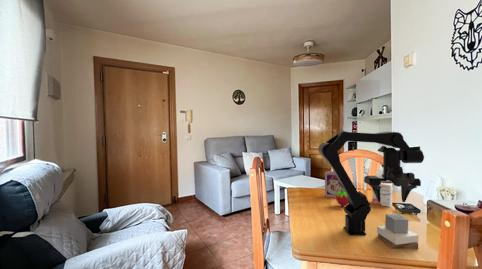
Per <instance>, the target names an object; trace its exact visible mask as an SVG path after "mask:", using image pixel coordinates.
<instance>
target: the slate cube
mask: <svg viewBox="0 0 482 269" xmlns="http://www.w3.org/2000/svg"><path fill="white" fill-rule="evenodd" d="M384 220H385V222H384V224H385V227H386V228H387V229H389V230H390V231H392V232H393V233H408V230H409V219H407V218H406V217H405V216H403V215H401V214H399V213H386V214H385V219H384Z"/></svg>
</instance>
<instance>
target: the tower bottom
mask: <svg viewBox="0 0 482 269" xmlns="http://www.w3.org/2000/svg"><path fill="white" fill-rule="evenodd" d="M377 236H378V238H379V239H380V240H382V241H383V242H384V243H385V244H386V245H388V247H389V248H391V249H393V250H394V249H397V250H398V249H400V250H403V249H405V250H407V249H408V250H409V249H410V250H411V249H412V250H417V249H419V242H415V243H406V244H397V245H396V244H394V243H393V242H391V241H390V240H388V239H386V238H385V237H383V236H382V235H380V234H379V233H377Z"/></svg>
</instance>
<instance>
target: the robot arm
mask: <svg viewBox="0 0 482 269" xmlns="http://www.w3.org/2000/svg"><path fill="white" fill-rule="evenodd" d="M347 142H359V143H371V144H372V143H374V144H378V145H379V144H380V145H382V146H380V147H379V148H378V149H377V152H379V153H383V156H382V158H383V160H382V161H383V162H382V163H383V164H381V167H382V171H383V172H382V174H381V176H382V177H383V178H378V177H376V176H377V175H365V176H364V178H363V179H364V180H363V182H364V183H366V184H367V185H368V186H370V187H371V188H372V192H373V191H374V193H375V195H376V198H377V200H378V202H380V189H381V186H379V185H380V184H381V183H392V185H393V186H394V187H400V191H401V194H400V196H401V201H402V202H403V203H405V202H406V201H407V198H408V197H409V195H410V193H411V192H412V190H413V189H417V188H418V187H421V186H422V180H421V179H420V178H419V177H417V176H416V177H415V174H414V172H404V171H403V170H404V169H403V166H401V162H402V163H403V164H422V163H423V162H424V159H425V155H424V152H423V151H422V149H421V146H420V145H412V146H411V145H410V146H409V145H408V143H407V142H406V141H405V140H404V136H403V135H402V133H401V132H398V131H380V132H374V133H373V132H355V131H345V130H341V131H339V132H338V133H336V134H335V135H334V136H331V137H330V139H328V140H327V141H326V142H321V144H319V145H318V148H317V151H318V153H319V154H320V155H321V157H322V158H323V159H324V160H325V162H327V163H328V164H329V166H330V167H331V169H332V171H334V173H335V174H336V176H337V178H338V180H339V181H340V183H341V185H342V187H343V188H344V190H345V192H346V194H347V199H348V202H349V203H348V204H347V205H346V206H343V210H344V213H345V216H344V221H345V222H344V224H345V225H344V226H343V229H344V230H345V231H346V232H347V233H348V235H350V236H367V232H366V219H367V216H368V215H369V214H370V212H371V210H372V208H371V205H372V204H371V202H370V201H369V200H368V198H367V195H365V194H364V193H363V192H361V191H360V190H359V191H358V190H357V188H356V186H355V185H354V183H353V181H352V179H351V178H350V176H349V175H348V172H347V171H346V169H345V168H344V166H343V164H342V162H341V157H340V153H339V150H341V149H342V148H343V147H344V146H345V144H346V143H347ZM387 146H389V147H387ZM387 180H390V181H387Z"/></svg>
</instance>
